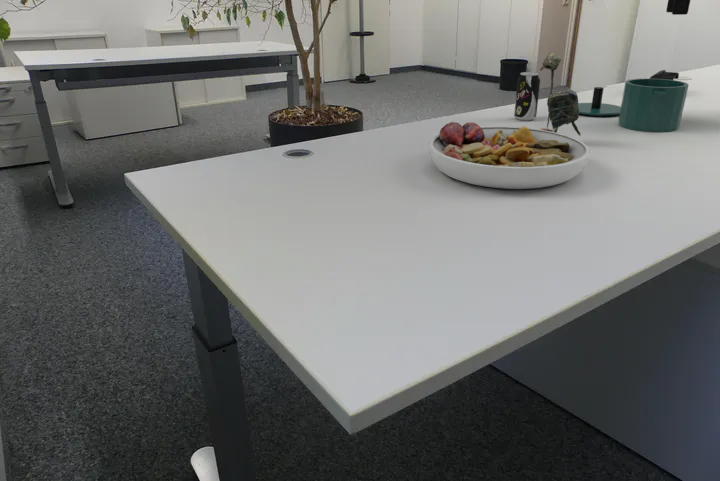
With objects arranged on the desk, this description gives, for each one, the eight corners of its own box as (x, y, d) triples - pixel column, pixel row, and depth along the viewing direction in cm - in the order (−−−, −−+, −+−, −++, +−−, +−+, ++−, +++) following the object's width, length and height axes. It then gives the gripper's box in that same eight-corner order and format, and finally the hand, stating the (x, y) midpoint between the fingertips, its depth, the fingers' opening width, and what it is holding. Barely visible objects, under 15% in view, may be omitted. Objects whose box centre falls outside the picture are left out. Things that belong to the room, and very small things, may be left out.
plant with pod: (572, 150, 120) (586, 54, 111) (522, 143, 126) (531, 51, 117) (582, 141, 126) (596, 50, 118) (533, 135, 132) (543, 48, 123)
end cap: (651, 90, 181) (655, 69, 178) (675, 92, 177) (679, 70, 175) (644, 95, 174) (648, 73, 171) (669, 97, 170) (674, 74, 167)
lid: (622, 107, 158) (626, 84, 155) (625, 118, 145) (630, 93, 143) (567, 105, 163) (570, 82, 160) (566, 116, 150) (570, 91, 147)
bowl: (602, 161, 112) (608, 122, 109) (559, 207, 90) (566, 160, 87) (466, 142, 128) (468, 108, 124) (401, 177, 105) (401, 137, 102)
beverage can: (509, 119, 148) (513, 73, 143) (521, 115, 152) (526, 70, 146) (527, 122, 144) (533, 75, 139) (540, 118, 148) (545, 72, 143)
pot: (672, 118, 144) (681, 77, 140) (684, 136, 128) (694, 90, 124) (616, 116, 149) (623, 76, 144) (620, 132, 132) (628, 88, 128)
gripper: (719, -73, 116) (700, 15, 123) (703, -67, 131) (687, 11, 138) (679, -70, 118) (663, 15, 126) (668, -65, 133) (654, 11, 140)
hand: (676, 13), depth 132 cm, fingers open, 9 cm apart
